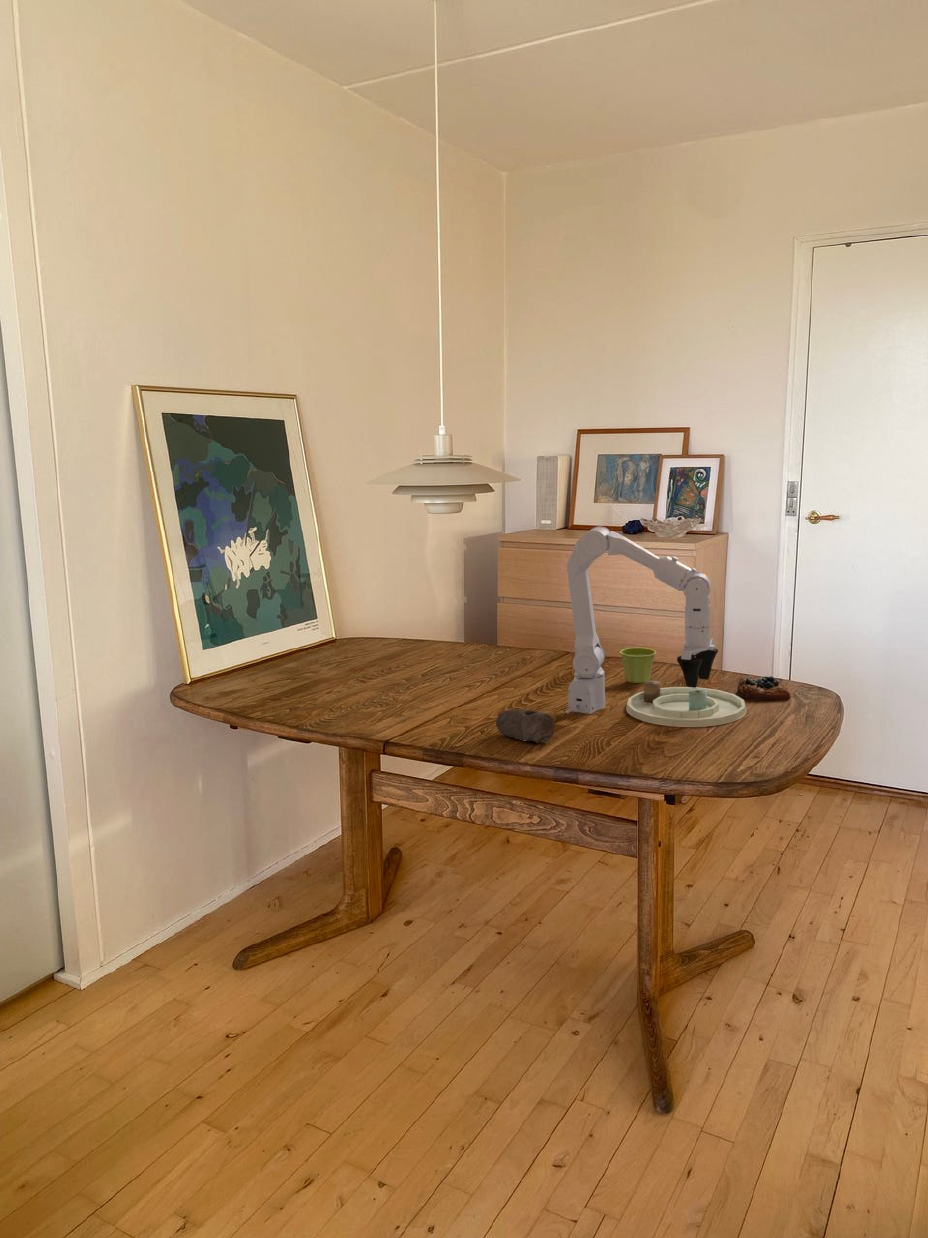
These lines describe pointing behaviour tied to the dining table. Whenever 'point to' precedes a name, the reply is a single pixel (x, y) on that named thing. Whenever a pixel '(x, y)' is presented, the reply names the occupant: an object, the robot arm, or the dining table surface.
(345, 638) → the dining table surface
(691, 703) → the teal bead
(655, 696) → the walnut bead
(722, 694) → the groove tray
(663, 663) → the dining table surface
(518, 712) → the perforated stone tool
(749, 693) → the pastry
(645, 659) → the plant pot
